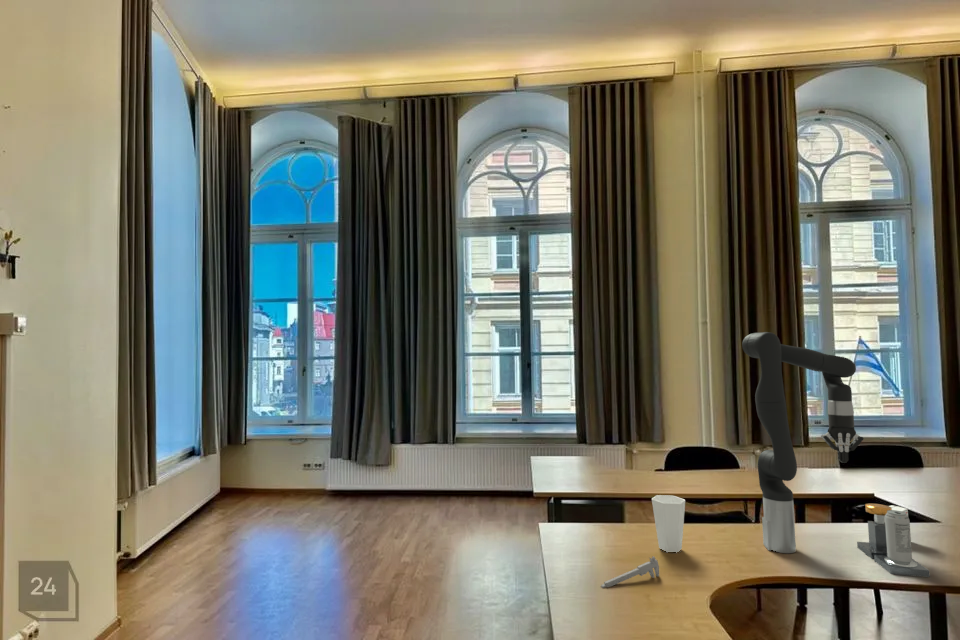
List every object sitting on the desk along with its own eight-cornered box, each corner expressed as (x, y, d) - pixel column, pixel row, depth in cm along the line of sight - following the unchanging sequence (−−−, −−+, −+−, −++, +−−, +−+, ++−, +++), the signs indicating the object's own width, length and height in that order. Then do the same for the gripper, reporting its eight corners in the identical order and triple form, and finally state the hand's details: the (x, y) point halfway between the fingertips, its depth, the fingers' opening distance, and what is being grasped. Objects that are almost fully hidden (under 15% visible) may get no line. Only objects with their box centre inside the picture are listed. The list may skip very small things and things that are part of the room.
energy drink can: (903, 557, 162) (899, 509, 163) (917, 565, 156) (914, 515, 157) (882, 557, 162) (879, 509, 164) (896, 564, 156) (893, 515, 158)
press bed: (890, 573, 155) (890, 566, 155) (874, 561, 165) (874, 554, 165) (929, 577, 153) (929, 569, 153) (910, 563, 162) (910, 556, 163)
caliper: (657, 576, 156) (656, 555, 157) (659, 577, 155) (658, 556, 156) (600, 587, 149) (600, 565, 150) (602, 589, 148) (602, 567, 149)
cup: (693, 552, 174) (691, 501, 175) (670, 557, 170) (668, 505, 171) (670, 541, 184) (668, 493, 185) (647, 546, 180) (645, 496, 181)
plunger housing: (871, 558, 167) (869, 527, 168) (857, 547, 177) (855, 518, 177) (907, 561, 164) (905, 529, 165) (891, 549, 174) (889, 520, 175)
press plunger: (873, 536, 168) (871, 508, 169) (863, 529, 175) (861, 502, 176) (898, 538, 167) (896, 510, 167) (886, 531, 173) (885, 504, 174)
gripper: (857, 412, 185) (859, 461, 183) (815, 411, 188) (818, 459, 187) (867, 415, 177) (869, 465, 176) (823, 414, 181) (826, 463, 180)
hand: (843, 462), depth 182 cm, fingers closed
